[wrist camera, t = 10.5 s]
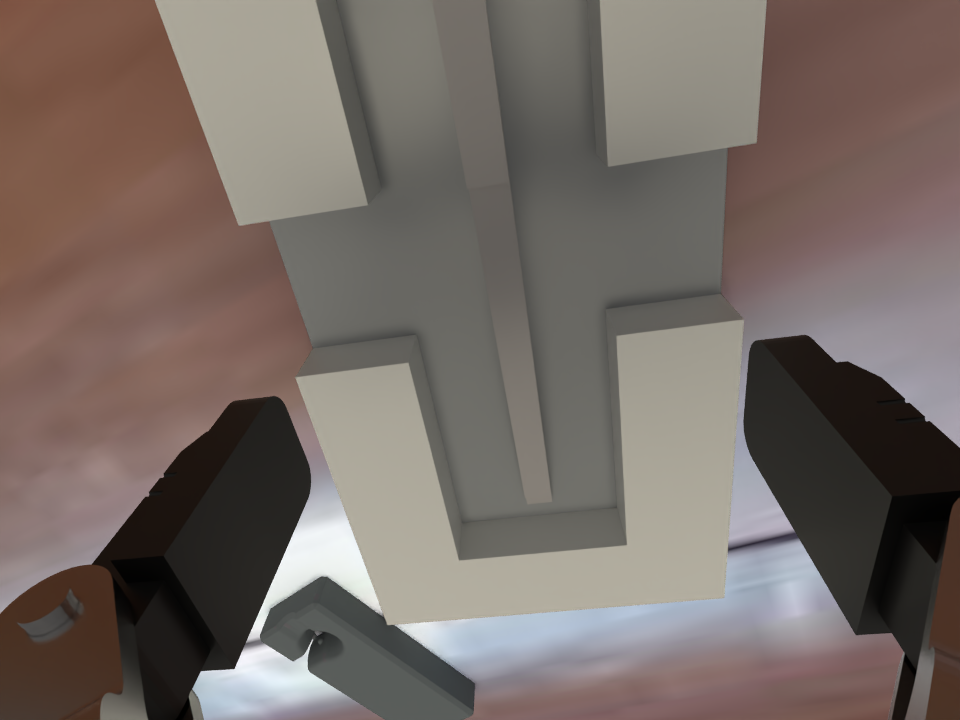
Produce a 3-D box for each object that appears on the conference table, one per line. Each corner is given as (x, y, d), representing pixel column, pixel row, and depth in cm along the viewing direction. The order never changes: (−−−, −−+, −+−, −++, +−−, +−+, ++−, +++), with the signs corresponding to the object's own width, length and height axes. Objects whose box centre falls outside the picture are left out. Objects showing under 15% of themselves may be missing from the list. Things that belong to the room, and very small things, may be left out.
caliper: (418, -169, 13) (358, -329, 8) (464, -179, 13) (438, -350, 7) (526, 496, 23) (535, 640, 17) (553, 493, 23) (571, 637, 17)
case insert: (752, -575, 11) (819, -738, 8) (704, 549, 25) (723, 597, 23) (72, -381, 12) (-23, -476, 10) (396, 577, 26) (387, 625, 24)
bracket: (422, 703, 32) (417, 743, 30) (270, 602, 28) (254, 641, 26) (477, 676, 31) (476, 716, 29) (326, 565, 27) (314, 604, 25)
